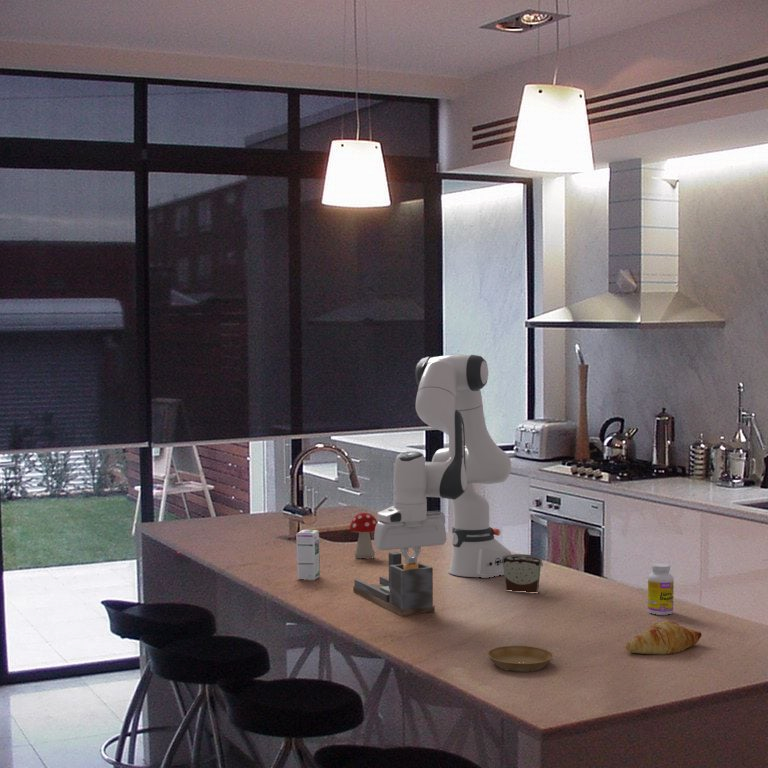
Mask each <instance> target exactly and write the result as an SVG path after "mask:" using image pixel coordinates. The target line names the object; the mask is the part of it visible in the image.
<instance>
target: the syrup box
mask: <svg viewBox="0 0 768 768" xmlns="http://www.w3.org/2000/svg"><path fill="white" fill-rule="evenodd" d="M295 537H296V564H297V565H296V570H297V571H296V572H297V573H296V574H297V580H299V579H304V580H303V581H316V580H317V579H318V578H319V577H320V576H321V565H320V563H321V562H320V561H321V560H320V559H321V557H320V532H319V530H318V529H301V530H300V531H299V532H297V533H296V534H295ZM306 579H308V580H306ZM315 579H316V580H315Z"/></svg>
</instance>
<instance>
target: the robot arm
mask: <svg viewBox="0 0 768 768" xmlns="http://www.w3.org/2000/svg"><path fill="white" fill-rule="evenodd" d="M488 367H489V366H488V364H487V361H486V360H485V358H484V357H482V356H481V355H477V354H470V355H467V354H448V355H446V354H445V355H439V356H438V355H437V356H432V355H431V356H426V357H422V358H421V359H420V360H419V361H418V362H417V363H416V366H415V370H414V372H415V377H414V378H415V383H416V384H417V386H418V387H417V393H416V398H415V411H416V414H417V416H418V417H419V419H420V420H421V421H422V422H423V423H424V424H426V425H427V426H429V427H430V428H433V429H435V430H438V431H440V432H442V433H445V434H446V435H447V436H448V447H442V448H439V449H438V450H436V451H435V453H434V454H433V456H432V459H431V461H426V459H425V456H424V454H423V453H422V452H420V451H415V450H413V451H410V450H409V451H405V452H404V451H403V452H401V453H399V454H397V456H396V457H395V461H394V469H393V470H394V471H393V489H394V492H395V493H394V494H395V495H394V499H393V505H392V506H389V507H388V508H385V509H383V510H380V511H378V512H377V514H376V520H378V521H377V524H376V527H375V532H374V533H373V535H374V536H373V543H374V544H373V545H374V547H375V548H376V549H377V550H379V551H392V550H400V553H401V555H402V556H403V558H404V563H405V564H407V565H409V564H417V563H418V557H419V555H420V553H421V552H422V548H423V547H424V548H425V547H432V546H441V545H444V544H445V543H446V542H447V533H446V525H445V524H446V515H445V514H444V512H442V511H441V510H427V509H428V507H427V505H428V504H427V502H428V499H427V498H442V499H447V500H451V503H452V513H453V514H452V515H453V526H452V528H451V537H452V538H451V539H452V540H451V541H452V553H451V561H450V566H449V569H448V573H449V574H451V575H453V576H458V577H465V578H467V577H469V578H479V577H481V578H482V579H488V578H489V577H490V578H494V576H495V577H500V576H499V575H501V576H504V567H503V563H502V564H501V561H502V558H503V556H506V555H513V554H512V552H511V550H510V549H508V548H507V547H506V546H505V545H503V544H502V543H501V542H499V541H498V540H497V539H496V538H495V536H496V537H497V536H500V534H501V533H502V531H501V530H500V529H499V528H493V527H491V526H490V505H489V501H488V500H487V499H486V498H485V497H484V496H482V495H481V494H479V493H478V492H477V491H476V489H475V487H474V484H481V485H482V484H483V485H494V484H500V483H504V482H506V480H508V478H509V476H510V475H511V472H512V461H511V458H510V456H509V454H507V452H506V451H504V450H503V449H501V448H500V447H499V446H498V444H497V443H495V441H494V440H493V438H492V437H491V435H490V432H489V431H488V428H487V424H486V419H485V412H484V404H483V396H482V392H481V390H482V389H483V388H484V387H485V386H486V385H487V383H488V378H489V368H488ZM411 548H412V550H413V553H412V556H409V554H408V553H409V552H410V551H409V549H411ZM481 578H480V579H481Z"/></svg>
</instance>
